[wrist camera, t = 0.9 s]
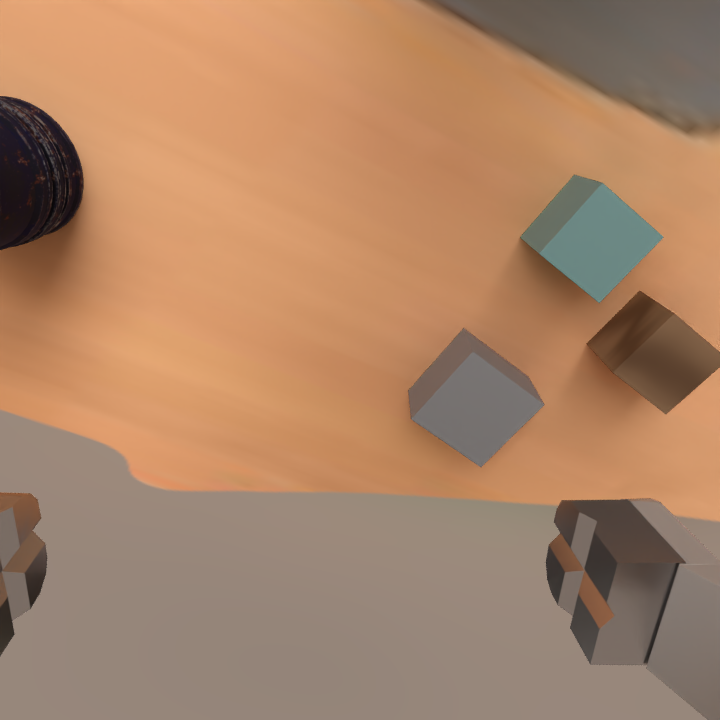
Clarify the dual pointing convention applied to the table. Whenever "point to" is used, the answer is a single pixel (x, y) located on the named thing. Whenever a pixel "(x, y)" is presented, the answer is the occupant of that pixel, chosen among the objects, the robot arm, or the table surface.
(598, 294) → the teal cube
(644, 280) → the table surface
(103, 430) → the table surface
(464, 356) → the grey base block
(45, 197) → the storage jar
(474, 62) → the table surface
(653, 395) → the walnut cube
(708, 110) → the table surface
